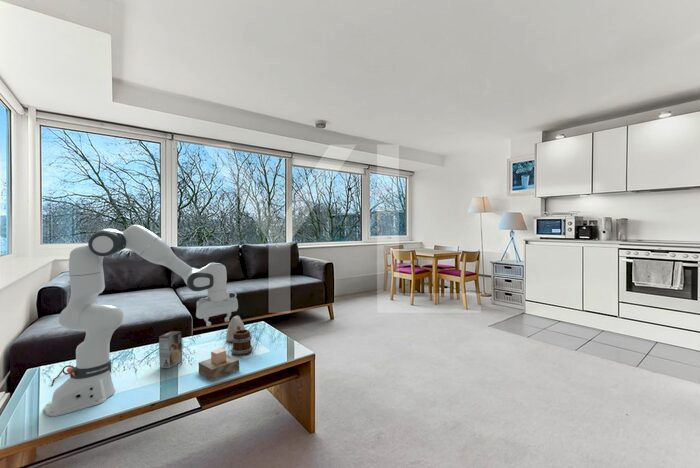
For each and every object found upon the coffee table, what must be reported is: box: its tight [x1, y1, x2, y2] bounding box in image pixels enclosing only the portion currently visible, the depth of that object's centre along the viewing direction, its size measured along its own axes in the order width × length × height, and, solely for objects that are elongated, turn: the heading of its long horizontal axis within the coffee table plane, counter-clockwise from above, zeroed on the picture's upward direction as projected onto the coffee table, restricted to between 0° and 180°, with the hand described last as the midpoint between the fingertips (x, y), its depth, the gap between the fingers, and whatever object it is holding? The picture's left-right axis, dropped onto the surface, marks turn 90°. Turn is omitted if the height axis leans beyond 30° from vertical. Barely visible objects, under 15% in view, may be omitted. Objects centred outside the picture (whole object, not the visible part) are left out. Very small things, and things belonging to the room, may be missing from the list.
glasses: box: [50, 364, 75, 387], centre depth 155 cm, size 13×13×5 cm
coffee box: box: [158, 330, 183, 369], centre depth 168 cm, size 9×6×16 cm
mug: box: [230, 326, 254, 357], centre depth 184 cm, size 12×14×15 cm
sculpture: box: [225, 315, 246, 343], centre depth 205 cm, size 13×12×15 cm
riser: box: [198, 353, 240, 381], centre depth 159 cm, size 14×13×5 cm
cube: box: [210, 348, 227, 364], centre depth 159 cm, size 5×5×5 cm
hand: (218, 323), depth 159 cm, fingers open, 8 cm apart
